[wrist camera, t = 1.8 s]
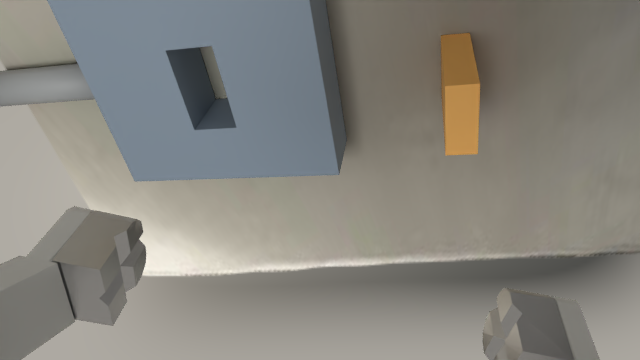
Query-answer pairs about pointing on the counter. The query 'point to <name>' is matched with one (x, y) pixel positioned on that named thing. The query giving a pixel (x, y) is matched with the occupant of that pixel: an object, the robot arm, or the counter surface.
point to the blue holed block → (200, 85)
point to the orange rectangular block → (459, 94)
